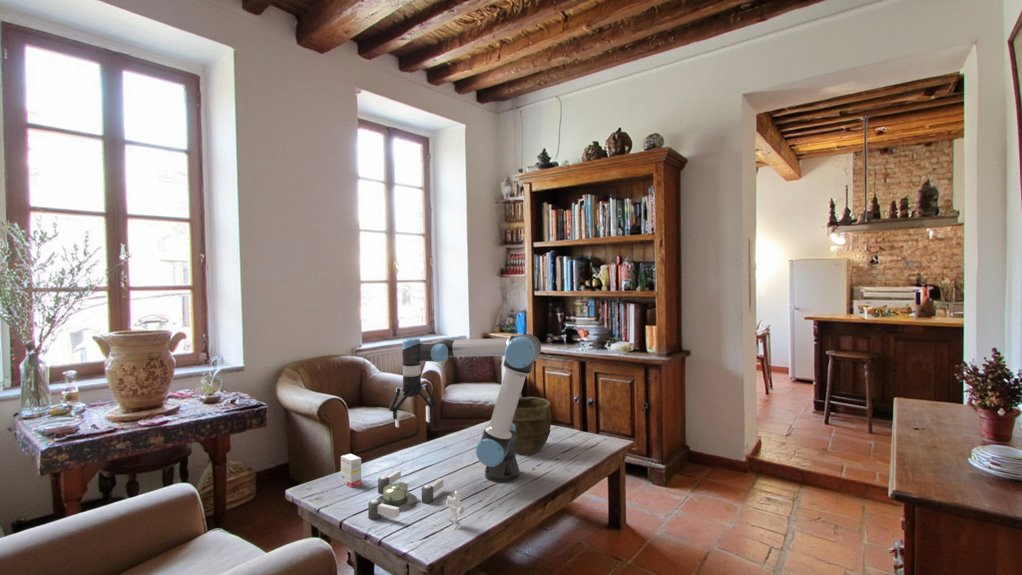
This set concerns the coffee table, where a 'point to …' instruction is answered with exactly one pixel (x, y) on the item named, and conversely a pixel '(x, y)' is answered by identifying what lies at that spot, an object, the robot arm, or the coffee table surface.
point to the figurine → (454, 508)
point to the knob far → (388, 480)
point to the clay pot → (531, 424)
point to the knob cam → (381, 510)
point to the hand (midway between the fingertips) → (412, 424)
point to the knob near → (431, 490)
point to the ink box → (350, 470)
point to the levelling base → (398, 496)
